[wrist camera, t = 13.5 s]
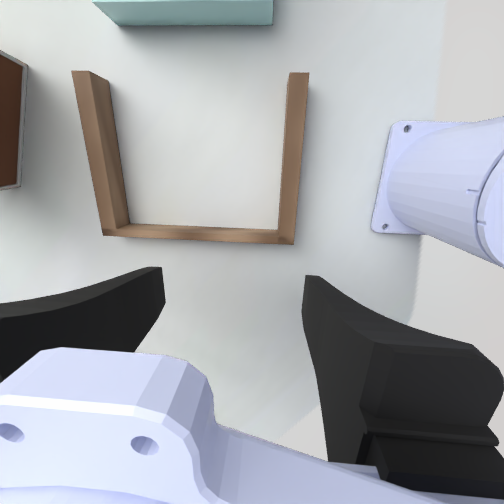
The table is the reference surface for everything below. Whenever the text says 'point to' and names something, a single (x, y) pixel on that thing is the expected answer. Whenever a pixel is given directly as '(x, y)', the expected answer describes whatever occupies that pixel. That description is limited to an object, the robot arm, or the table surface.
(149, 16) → the tray
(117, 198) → the frame
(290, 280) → the table surface
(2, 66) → the food container
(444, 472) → the robot arm
